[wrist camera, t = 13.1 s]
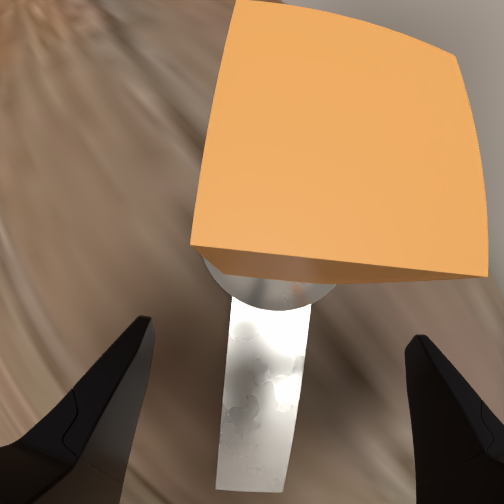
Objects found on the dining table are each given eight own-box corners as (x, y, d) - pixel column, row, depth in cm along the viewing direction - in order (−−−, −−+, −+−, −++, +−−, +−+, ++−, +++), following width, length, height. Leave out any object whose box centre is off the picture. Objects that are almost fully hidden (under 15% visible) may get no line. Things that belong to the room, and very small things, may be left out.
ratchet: (310, 479, 18) (327, 518, 13) (183, 472, 17) (172, 512, 12) (346, 176, 20) (375, 148, 15) (211, 159, 20) (205, 123, 15)
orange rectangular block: (324, 284, 17) (487, 277, 5) (223, 274, 17) (190, 244, 5) (330, 188, 18) (455, 55, 5) (235, 176, 18) (236, -1, 5)
